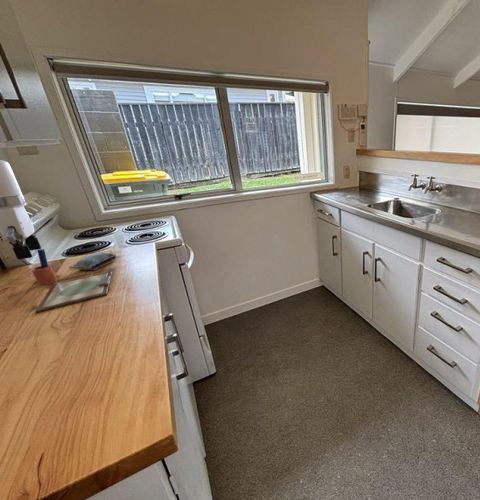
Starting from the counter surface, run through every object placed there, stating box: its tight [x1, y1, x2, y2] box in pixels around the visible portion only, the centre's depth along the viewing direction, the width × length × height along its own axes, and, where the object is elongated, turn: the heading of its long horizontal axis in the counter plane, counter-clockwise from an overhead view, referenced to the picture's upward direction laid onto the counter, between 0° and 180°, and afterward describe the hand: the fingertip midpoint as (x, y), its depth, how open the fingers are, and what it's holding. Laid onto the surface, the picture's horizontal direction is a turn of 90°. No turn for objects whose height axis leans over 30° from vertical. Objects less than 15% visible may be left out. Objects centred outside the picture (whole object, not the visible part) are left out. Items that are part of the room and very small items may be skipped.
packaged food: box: [68, 252, 118, 271], centre depth 108 cm, size 9×12×5 cm
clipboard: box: [34, 271, 113, 314], centre depth 91 cm, size 16×20×1 cm
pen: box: [36, 248, 49, 269], centre depth 96 cm, size 2×2×12 cm
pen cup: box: [30, 264, 58, 286], centre depth 96 cm, size 5×5×6 cm
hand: (30, 253), depth 93 cm, fingers open, 9 cm apart
